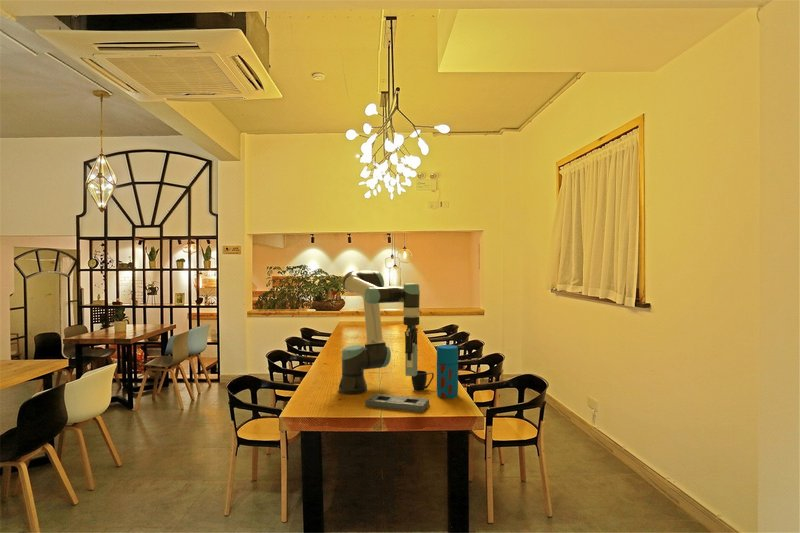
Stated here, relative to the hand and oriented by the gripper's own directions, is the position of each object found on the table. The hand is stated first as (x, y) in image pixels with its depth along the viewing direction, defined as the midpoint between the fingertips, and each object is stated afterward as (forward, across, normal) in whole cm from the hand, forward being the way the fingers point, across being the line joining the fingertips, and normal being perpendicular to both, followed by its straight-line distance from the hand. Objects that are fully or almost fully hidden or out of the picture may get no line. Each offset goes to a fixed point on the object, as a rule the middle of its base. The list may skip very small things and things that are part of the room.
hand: (411, 365), depth 212 cm
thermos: (+20, +24, -12) cm, 33 cm away
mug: (+20, +31, +3) cm, 37 cm away
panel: (+19, 0, +7) cm, 21 cm away
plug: (+4, 0, 0) cm, 4 cm away
